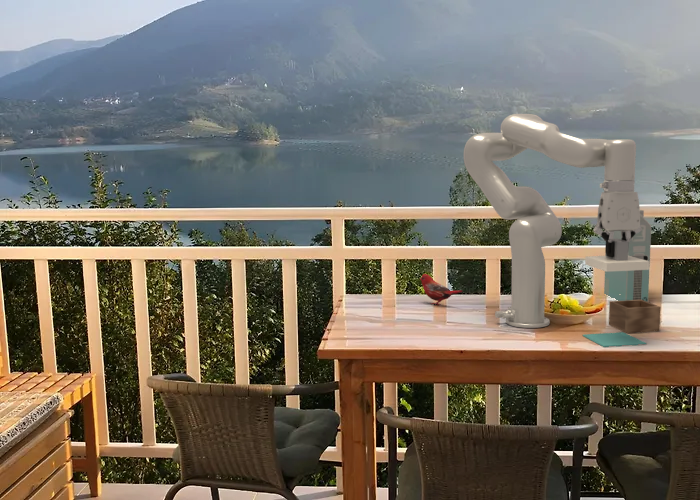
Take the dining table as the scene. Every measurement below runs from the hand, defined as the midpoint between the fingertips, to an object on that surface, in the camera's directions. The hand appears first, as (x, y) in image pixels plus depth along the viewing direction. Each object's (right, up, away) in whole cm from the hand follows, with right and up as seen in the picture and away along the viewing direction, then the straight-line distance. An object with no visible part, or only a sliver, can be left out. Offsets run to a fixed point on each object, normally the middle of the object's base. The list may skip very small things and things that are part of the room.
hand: (616, 255), depth 207 cm
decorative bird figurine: (-41, -17, +48) cm, 66 cm away
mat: (0, -23, +3) cm, 23 cm away
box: (+10, -21, +16) cm, 28 cm away
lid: (0, -3, 0) cm, 3 cm away
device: (+22, -15, +55) cm, 61 cm away
